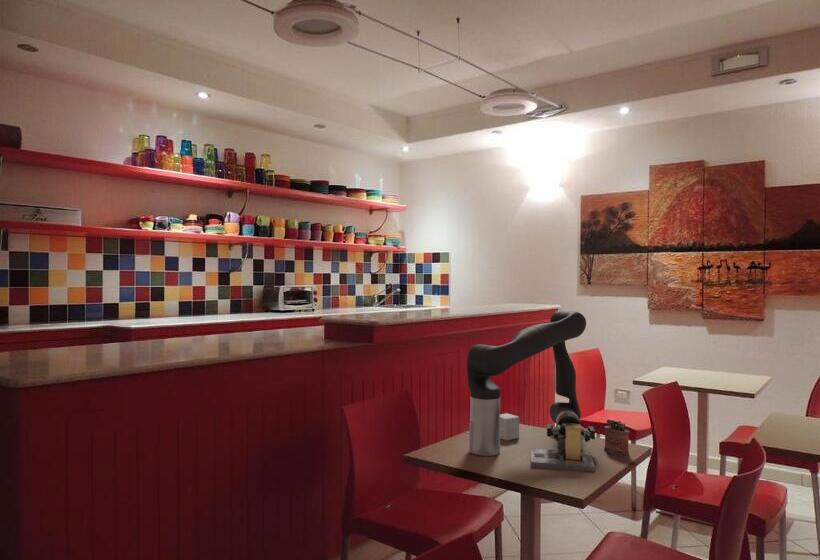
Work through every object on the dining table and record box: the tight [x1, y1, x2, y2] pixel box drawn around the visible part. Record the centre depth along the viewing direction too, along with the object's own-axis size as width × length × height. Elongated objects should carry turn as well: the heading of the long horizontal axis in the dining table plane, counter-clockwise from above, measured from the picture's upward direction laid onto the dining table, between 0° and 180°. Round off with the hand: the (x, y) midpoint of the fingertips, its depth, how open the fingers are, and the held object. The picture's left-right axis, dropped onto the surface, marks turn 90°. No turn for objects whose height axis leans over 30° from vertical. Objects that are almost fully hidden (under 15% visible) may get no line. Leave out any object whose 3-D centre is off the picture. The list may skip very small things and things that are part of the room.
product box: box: [500, 413, 520, 441], centre depth 194 cm, size 6×6×7 cm
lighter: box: [603, 419, 630, 457], centre depth 177 cm, size 8×3×10 cm, turn 37°
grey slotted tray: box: [530, 448, 596, 473], centre depth 168 cm, size 18×13×2 cm
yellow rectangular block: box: [564, 423, 582, 461], centre depth 167 cm, size 4×4×11 cm
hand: (572, 437), depth 170 cm, fingers open, 8 cm apart
